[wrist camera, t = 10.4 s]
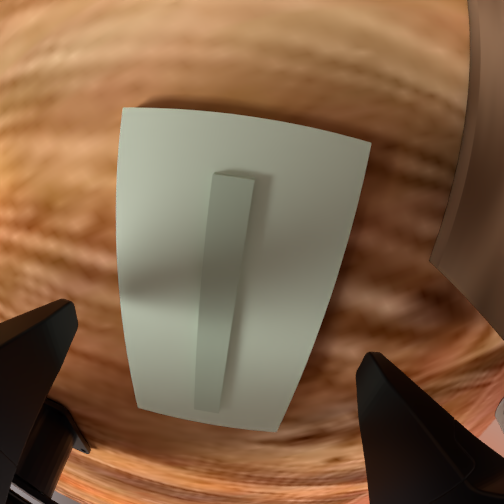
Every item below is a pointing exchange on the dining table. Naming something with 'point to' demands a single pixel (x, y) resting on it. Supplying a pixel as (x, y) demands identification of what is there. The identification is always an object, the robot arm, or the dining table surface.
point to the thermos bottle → (500, 414)
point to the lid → (228, 257)
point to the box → (479, 176)
